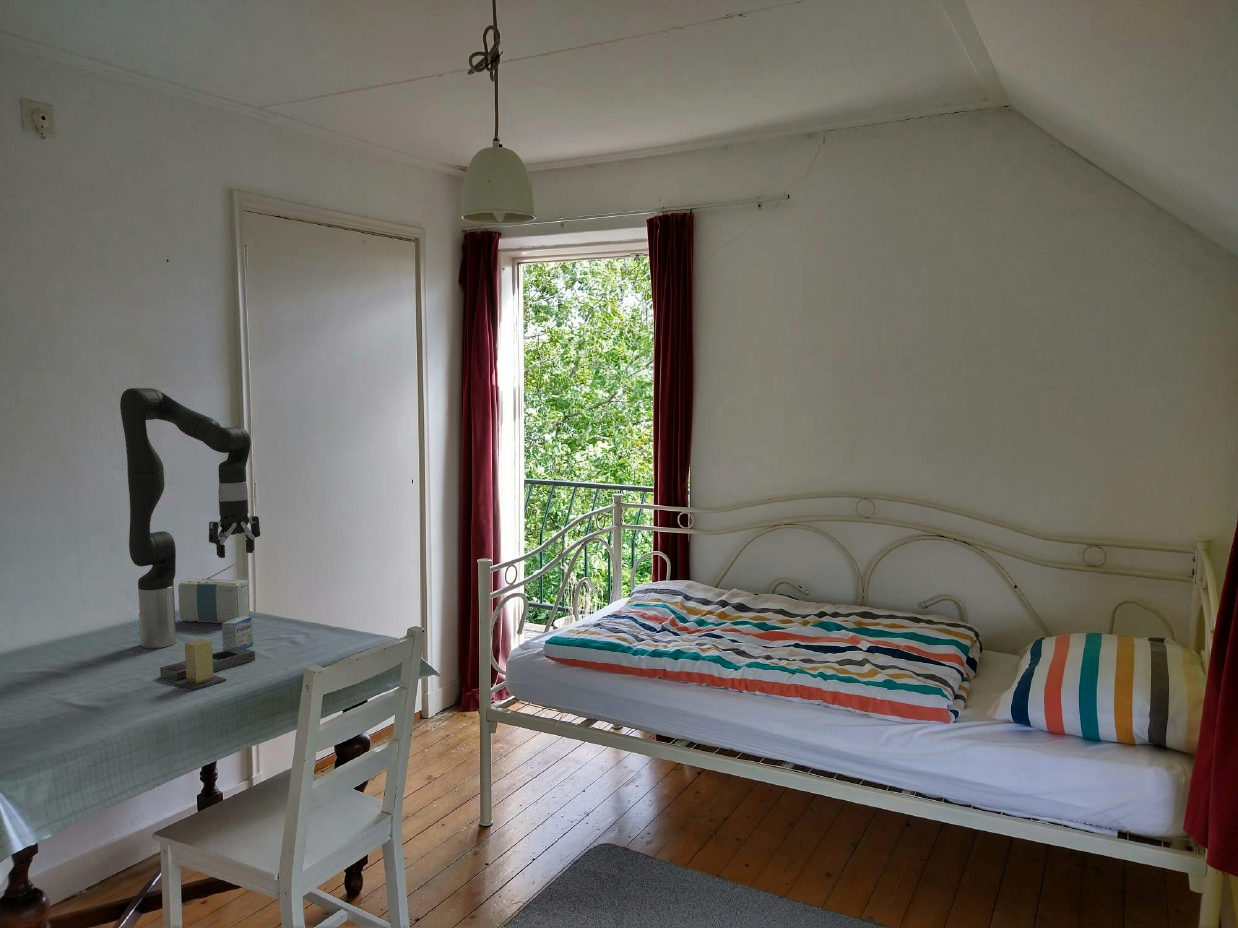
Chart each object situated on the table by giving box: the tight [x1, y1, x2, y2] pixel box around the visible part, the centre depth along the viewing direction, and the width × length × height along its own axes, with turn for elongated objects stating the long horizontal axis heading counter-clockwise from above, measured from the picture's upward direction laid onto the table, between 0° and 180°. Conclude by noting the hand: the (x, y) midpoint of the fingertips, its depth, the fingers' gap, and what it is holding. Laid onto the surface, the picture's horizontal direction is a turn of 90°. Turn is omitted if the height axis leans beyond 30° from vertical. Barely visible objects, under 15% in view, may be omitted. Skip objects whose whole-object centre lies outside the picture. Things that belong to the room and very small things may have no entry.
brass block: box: [184, 638, 214, 685], centre depth 221 cm, size 4×4×10 cm
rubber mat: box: [172, 674, 227, 692], centre depth 221 cm, size 9×9×1 cm
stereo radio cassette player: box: [177, 559, 250, 624], centre depth 281 cm, size 21×8×20 cm, turn 79°
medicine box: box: [221, 616, 254, 651], centre depth 250 cm, size 8×4×9 cm, turn 168°
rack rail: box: [159, 647, 256, 682], centre depth 232 cm, size 8×22×3 cm, turn 147°
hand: (235, 555), depth 244 cm, fingers open, 8 cm apart
